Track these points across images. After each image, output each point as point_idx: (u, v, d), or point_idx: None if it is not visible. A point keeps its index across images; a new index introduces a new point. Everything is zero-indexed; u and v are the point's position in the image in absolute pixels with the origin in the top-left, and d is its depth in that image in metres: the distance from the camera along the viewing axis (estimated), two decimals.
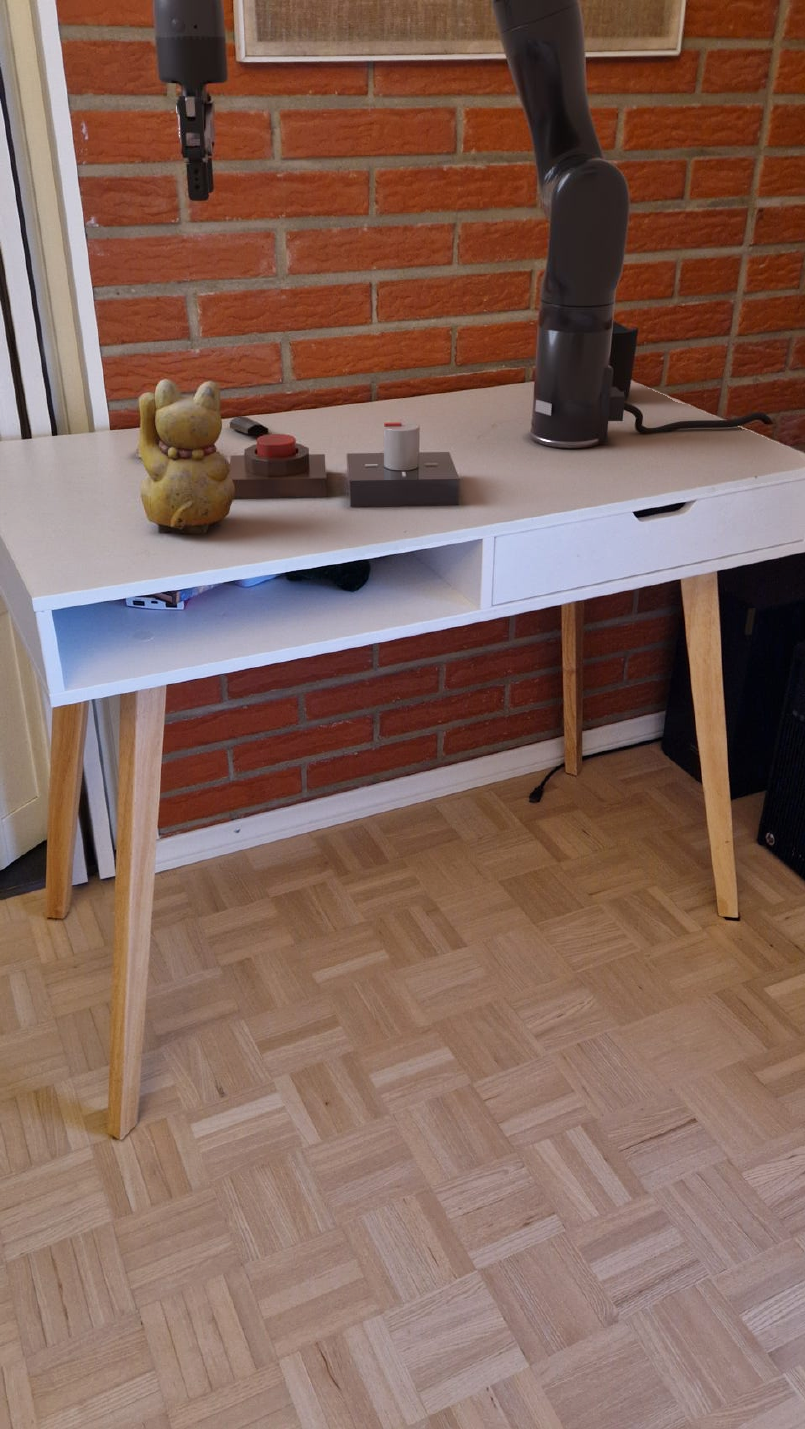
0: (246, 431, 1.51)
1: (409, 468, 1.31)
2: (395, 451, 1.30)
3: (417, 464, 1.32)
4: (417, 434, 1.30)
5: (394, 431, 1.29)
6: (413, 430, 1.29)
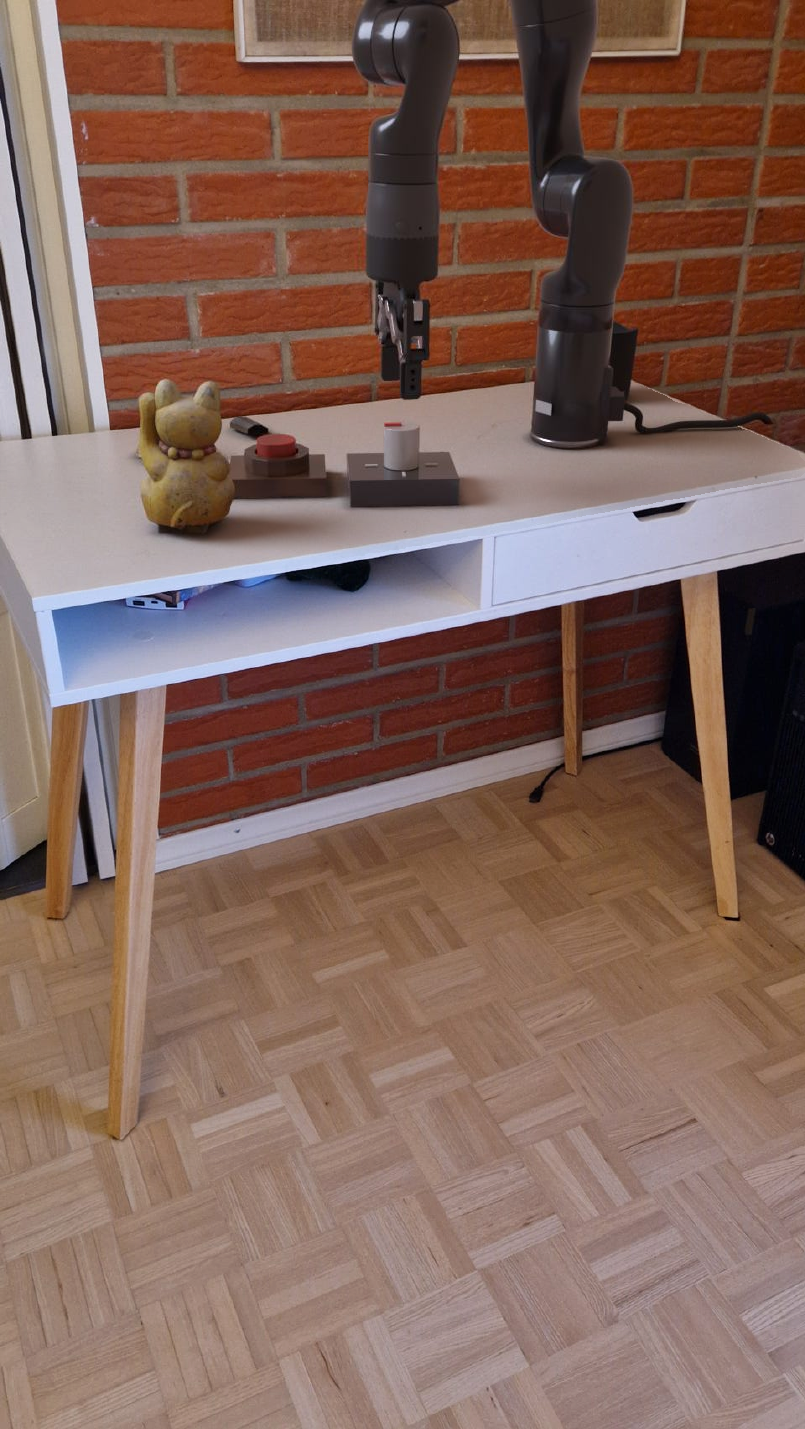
0: (246, 431, 1.51)
1: (409, 468, 1.31)
2: (395, 451, 1.30)
3: (417, 464, 1.32)
4: (417, 434, 1.30)
5: (394, 431, 1.29)
6: (413, 430, 1.29)
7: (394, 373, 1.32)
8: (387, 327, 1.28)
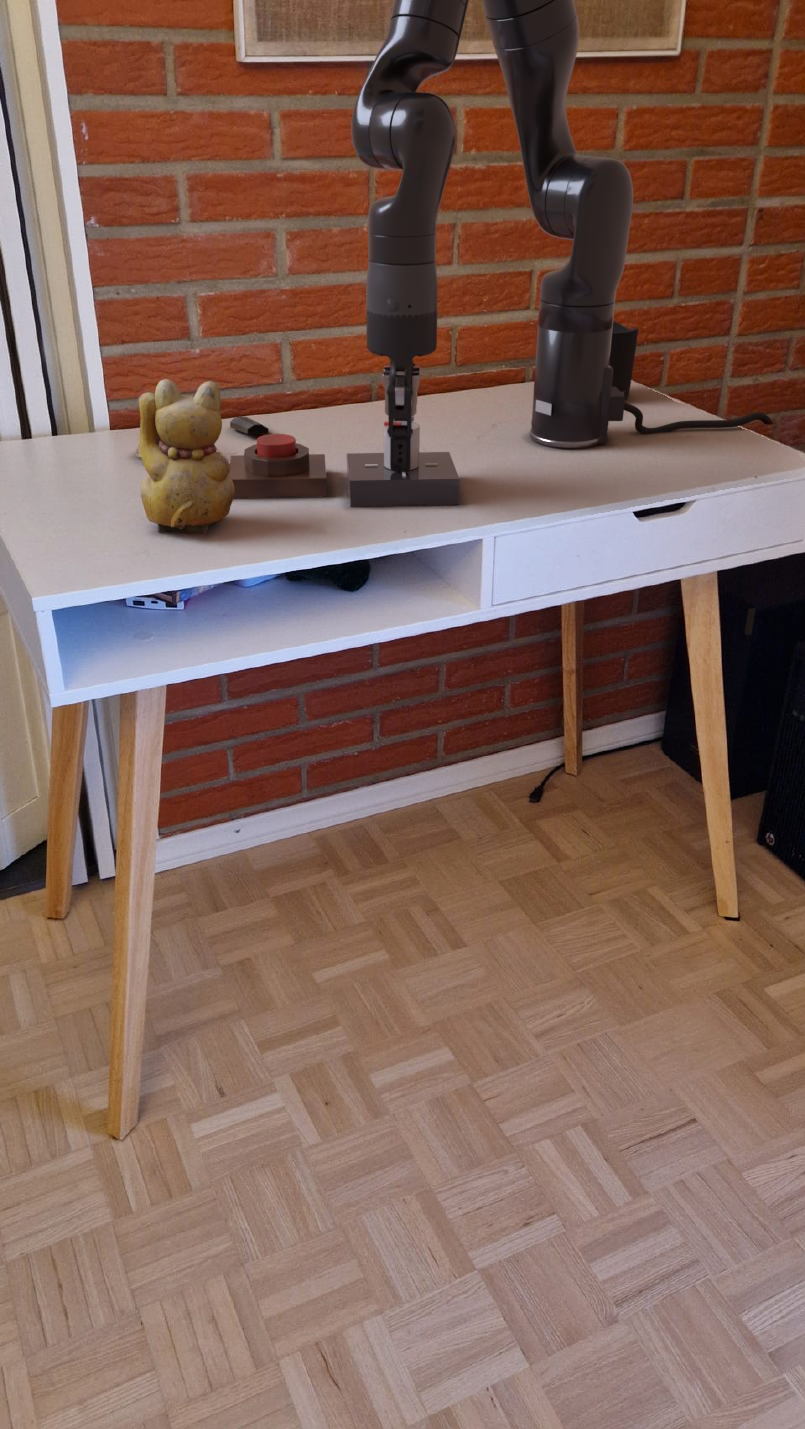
0: (246, 431, 1.51)
1: None
2: None
3: (415, 465, 1.32)
4: (414, 435, 1.30)
5: None
6: None
7: None
8: None
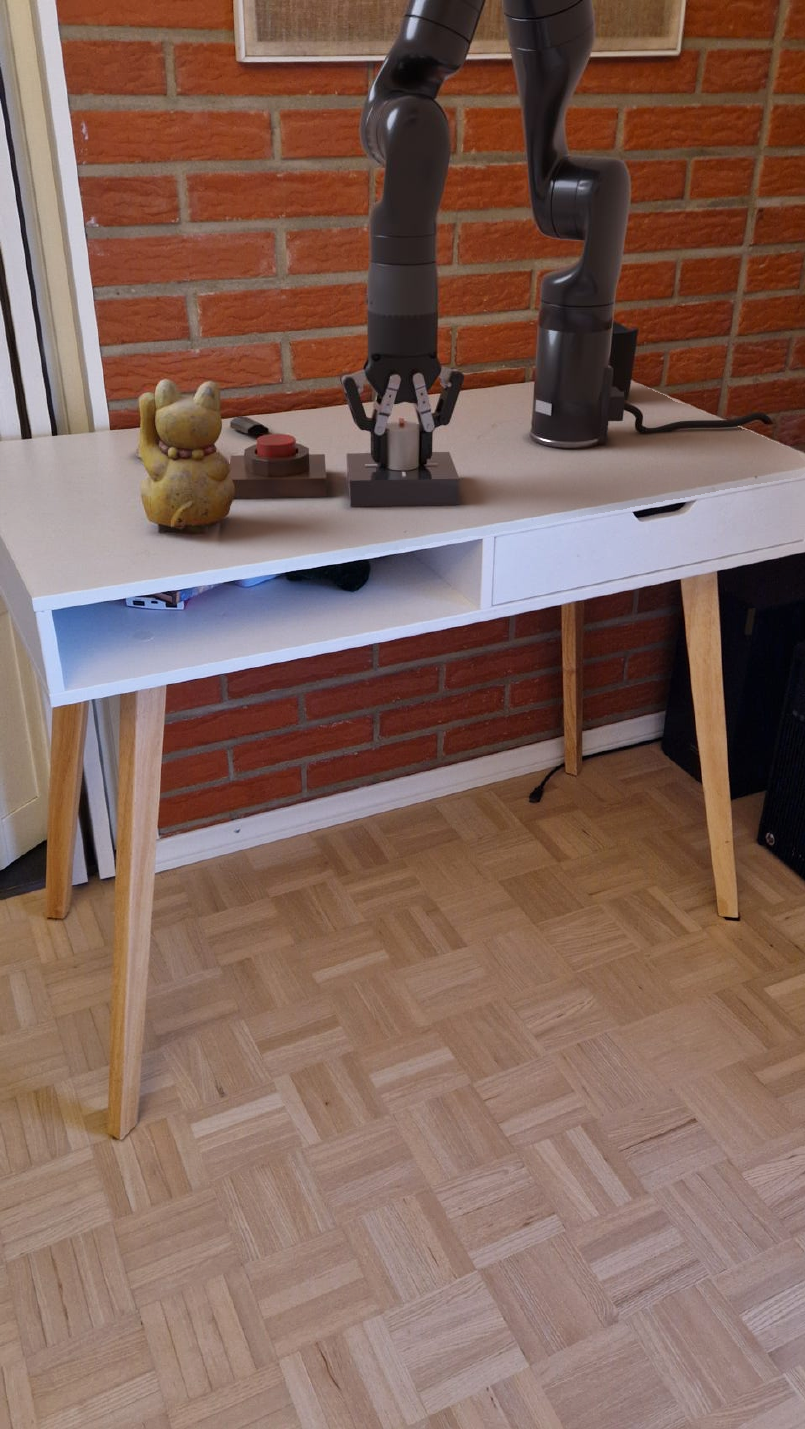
0: (246, 431, 1.51)
1: None
2: None
3: (393, 466, 1.31)
4: (392, 436, 1.30)
5: None
6: (387, 429, 1.30)
7: (419, 456, 1.33)
8: None
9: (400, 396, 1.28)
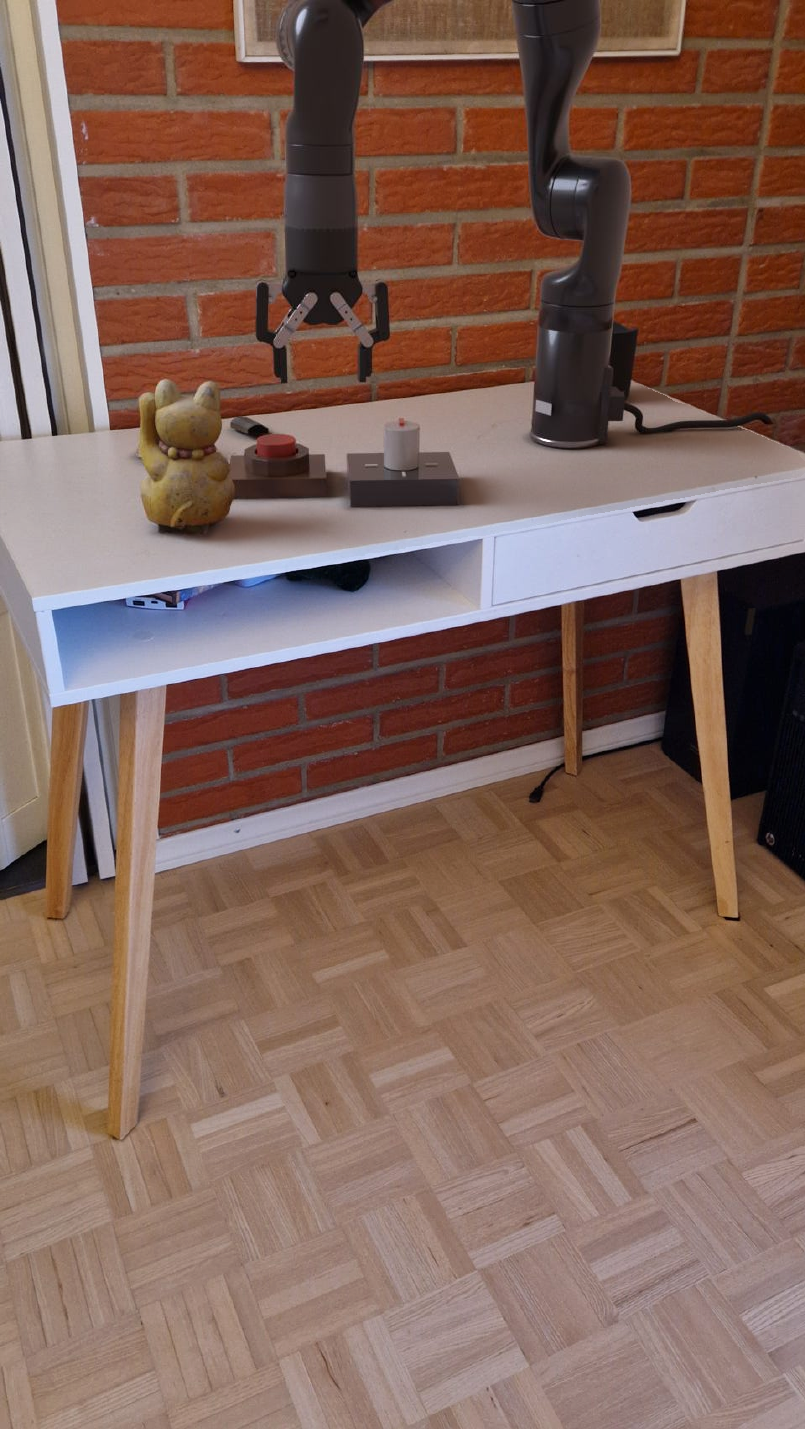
0: (246, 431, 1.51)
1: (385, 465, 1.32)
2: None
3: (393, 466, 1.31)
4: (392, 436, 1.30)
5: (385, 424, 1.31)
6: (387, 429, 1.30)
7: (359, 373, 1.29)
8: None
9: (318, 317, 1.24)
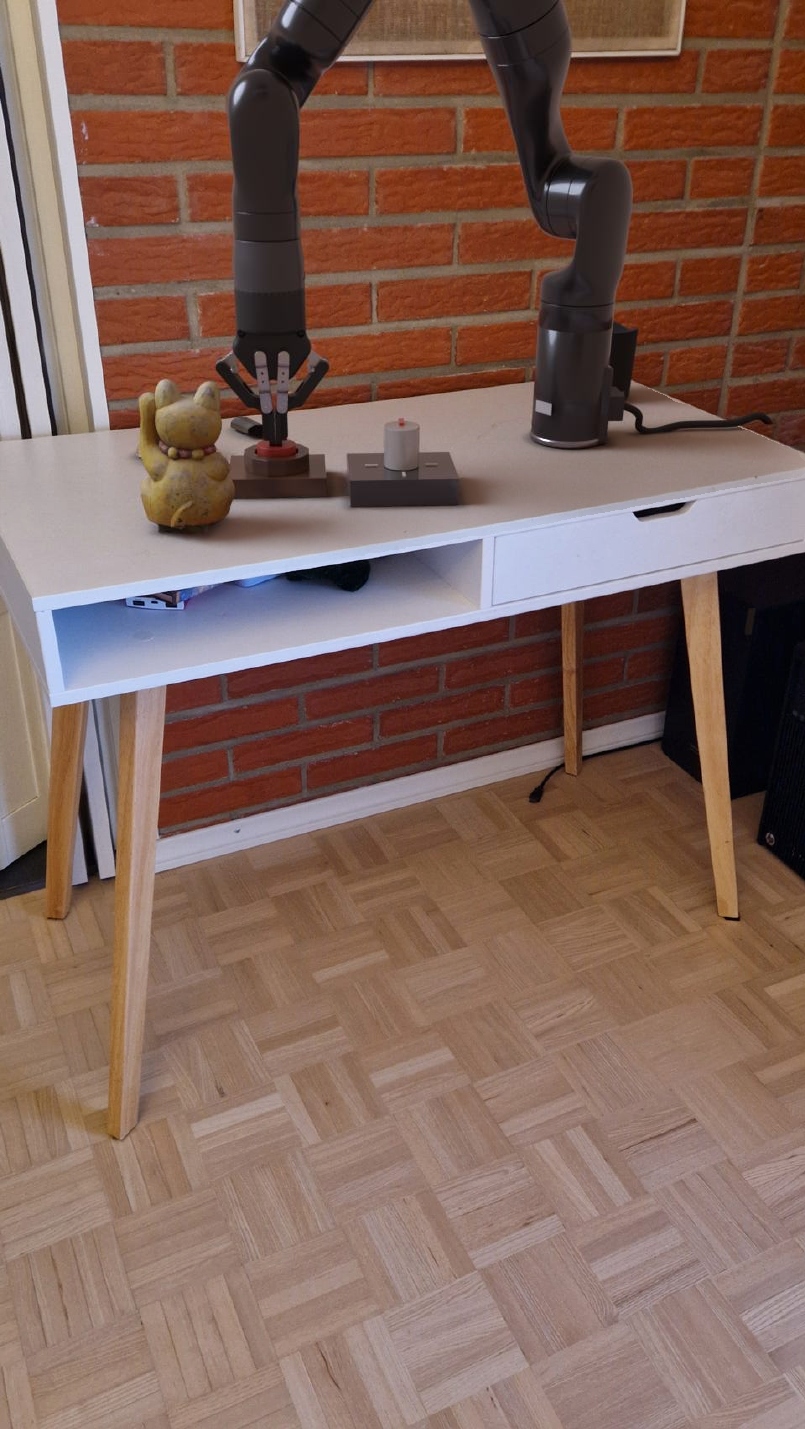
0: (246, 431, 1.51)
1: (385, 465, 1.32)
2: None
3: (393, 466, 1.31)
4: (392, 436, 1.30)
5: (385, 424, 1.31)
6: (387, 429, 1.30)
7: None
8: None
9: (268, 374, 1.29)
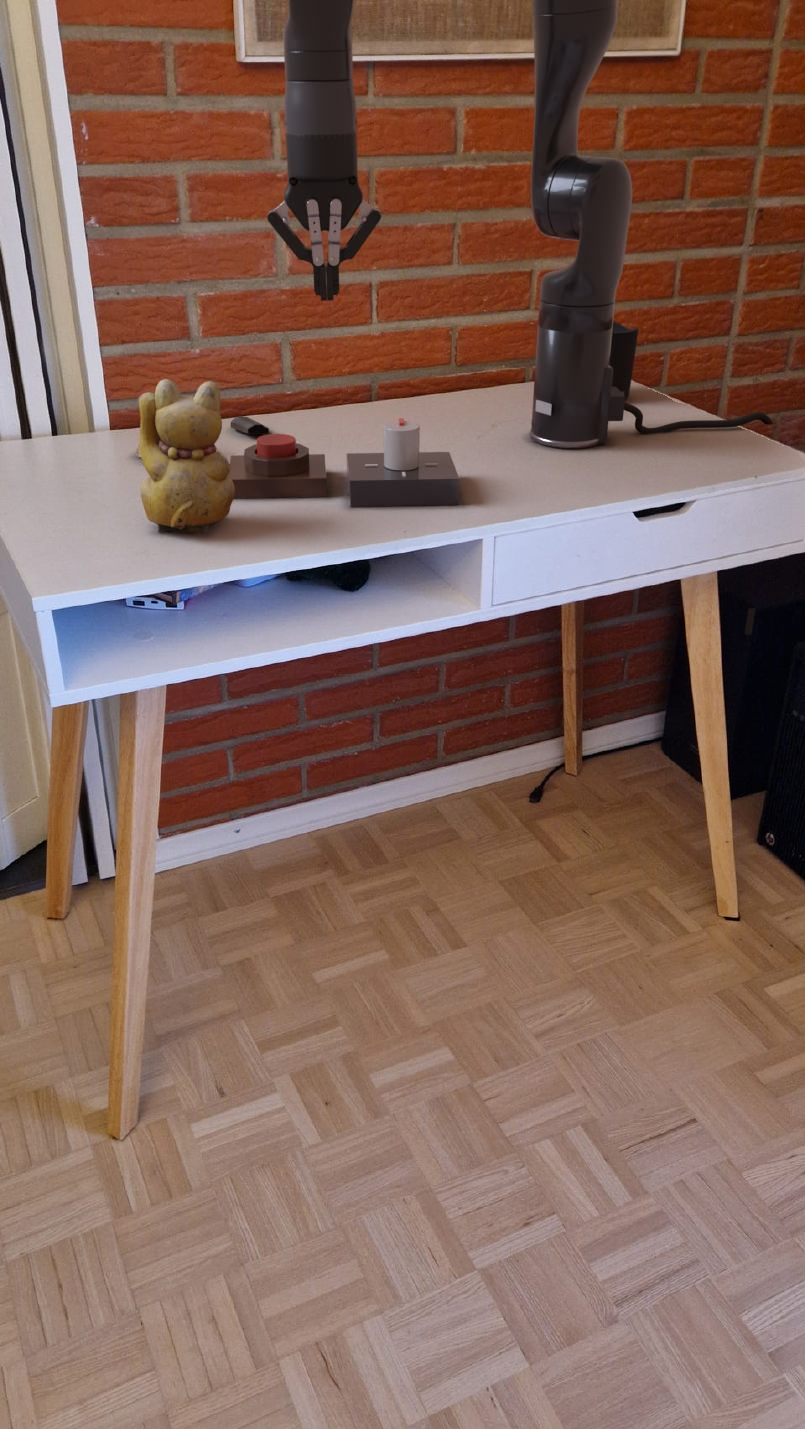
0: (246, 431, 1.51)
1: (385, 465, 1.32)
2: None
3: (393, 466, 1.31)
4: (392, 436, 1.30)
5: (385, 424, 1.31)
6: (387, 429, 1.30)
7: None
8: None
9: (320, 224, 1.28)
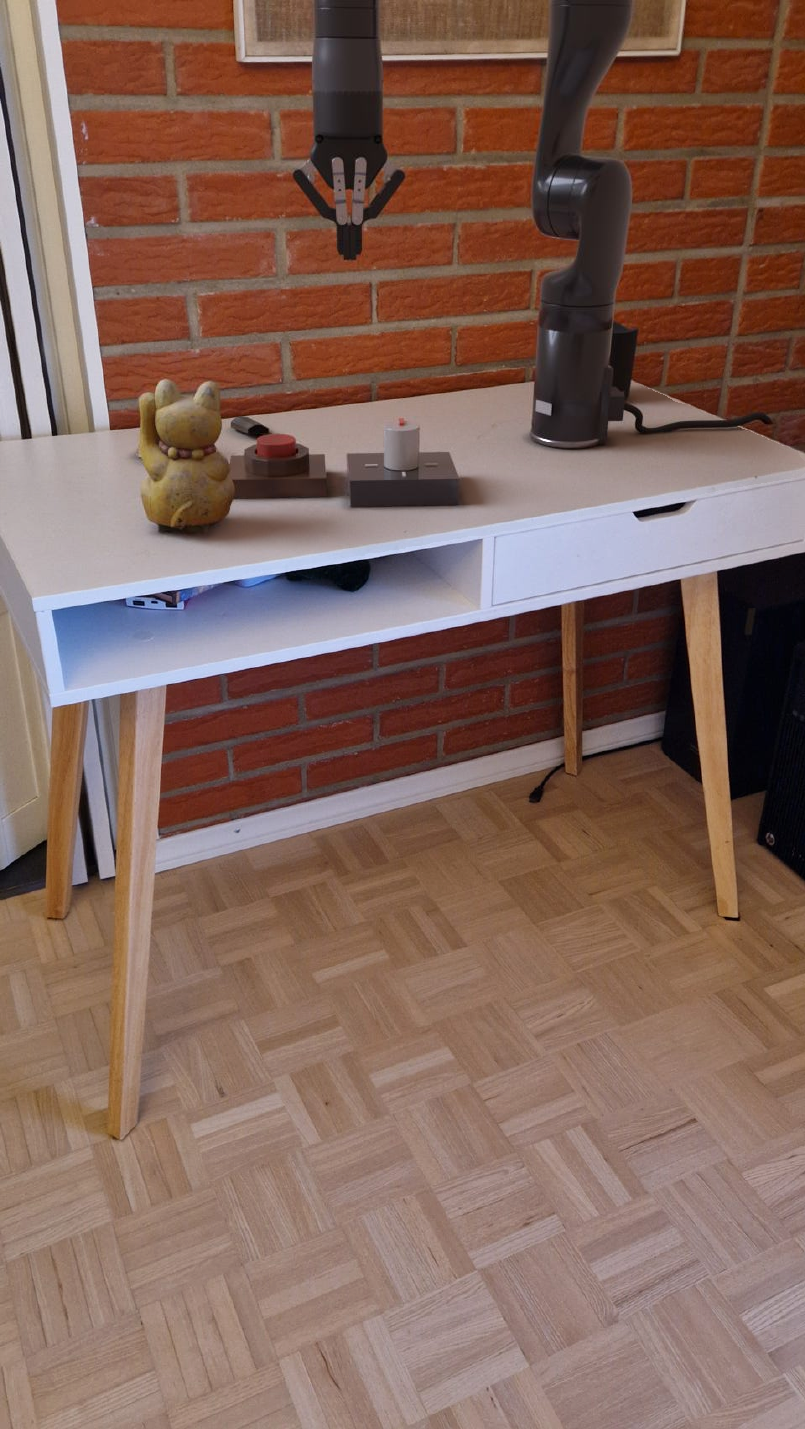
0: (247, 431, 1.51)
1: (385, 465, 1.32)
2: None
3: (393, 466, 1.31)
4: (392, 436, 1.30)
5: (385, 424, 1.31)
6: (387, 429, 1.30)
7: None
8: None
9: (345, 182, 1.29)
